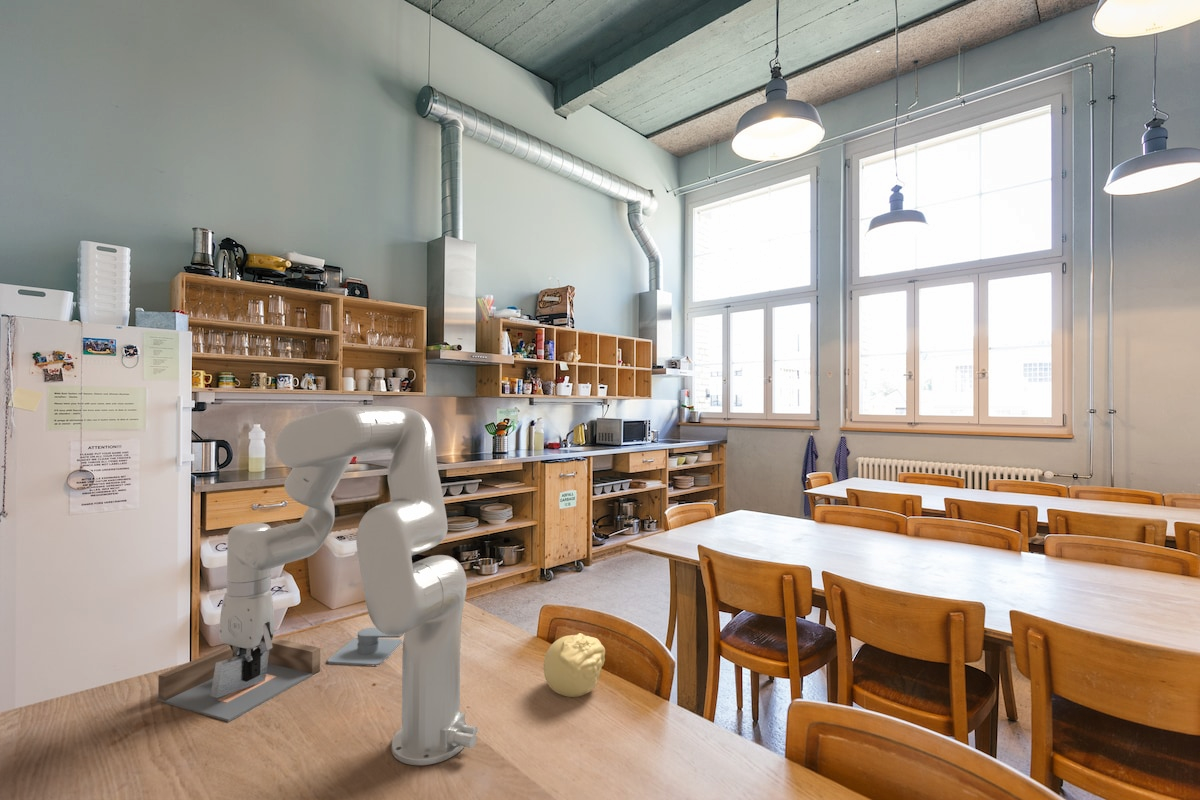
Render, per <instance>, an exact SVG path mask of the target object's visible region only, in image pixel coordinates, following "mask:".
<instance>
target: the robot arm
mask: <svg viewBox="0 0 1200 800" xmlns="http://www.w3.org/2000/svg"><path fill="white" fill-rule="evenodd" d="M436 446H437V445H436V438H435V432H434V430H433V428H432V425H431V423H430V421H428V419H427V418H426V417H425V416H424V415H423V414H421V413H420V412H419V411H417V410H415V409H411V408H409V407H403V406H397V405H396V406H393V405H390V406H389V405H388V406H387V405H375V406H374V405H372V406H370V405H369V406H366V405H365V406H361V405H360V406H359V405H357V406H340V407H335V408H330V409H328V410H323V411H320V412H317V413H314V414H310V415H307V416H304V417H301V418H296V419H294V420H291V421H290V422H288V423H287V424H286V425H285V426H283V428H282V429H281V430H280V431H279V432H278V435H277V437H276V440H275V446H274V447H275V454H276V457H277V459H278V460H279V462H280V463H281V464H282V465H283V466H286V467H287V468H291V470H290V472H289V474H288V476H287V477H286V479H285V481H284V490H285V492H286V494H287V495H288V496H289V497H290V499H292V500H293V501H295V502H296V503H299V504H300V505H303V506H307V509H306V511H305V512H304V514H303V516H302V517H301V518H300V520H299V522H293V523H288V524H284V525H279V526H276V527H271V526H270V525H269V524H267V523H263V522H250V523H243V524H238V525H235V526H233V527H232V528H231V529H230V530H229V531H228V532H227V546H226V547H227V552H226V553H227V555H226V556H227V557H226V559H227V560H226V561H227V562H226V592H225V593H224V597H223V599H222V604H221V610H220V617H219V618H220V619H219V628H218V629H219V631H218V634H219V637H218V638H219V641H220V642H221V643H223V644H226V645H227V646H230V647H231V649H232V651H233V658H234V657H237V656H241V655H244V654H246V660H247V661H245V662H244V681H245V682H247V681H249V680H251V679H253V678H255V677H257V676H259V675H260V667H261V656H263V653H264V652H267V651H269V650H271V649H272V648H273V647H272V643H271V640H272V639H273V638H274V635H275V612H274V611H275V609H274V601H273V595H272V592H271V590H272V587H271V585H272V569H273V568H278V567H280V566H284V565H286V564H289V563H292V562H296V561H300V560H302V559H303V560H304V559H306V558H310V556H313V555H314V554H315V553H317V552H318V550H320V549H321V547H322V545H324V543H325V542H326V539H327V538H328V536H329V534H330V533H331V531H332V529H333V527H334V524H335V519H336V518H335V517H336V516H335V515H336V513H335V510H336V509H335V503H334V500H333V498H332V496H333V494H334V492H335V490H336V488H337V487H338V484H339V482H340V480H341V479H342V477H343V475H344V474H345V472H346V470H347V469H348V467H349V466H350V464H351V462H352V460H353V458H354V457H361V456H371V455H377V454H385V453H390V454H393V455H392V457H391V459H390V462H389V465H388V470H387V483H388V488H389V497H390V501H389V502H384V503H380V504H377V505H376V506H374V507H372V508H371V509H369V510H367V512H365V514H364V515H363V516H362V518H361V520H360V521H359V524H358V527H357V532H356V538H355V539H356V540H355V541H356V551H357V556H358V557H357V559H358V564H359V570H360V576H361V581H362V586H363V594H364V599H365V605H366V609H367V613H368V617H370V620H371V622H372V624H373V626H374V628H377V629H378V630H379V631H381V632H382V633H384V634H386V635H392V636H395V635H400V634H403V633H404V634H403V640H402V655H401V656H402V660H401V661H402V662H401V663H402V664H401V665H402V667H401V669H402V671H401V672H402V673H401V678H402V680H401V728H400V729H398V730H397V732H396V733H395V734H394V735H393V738H392V741H391V753H392V755H393V757H394V758H395V759H396V760H398V761H399V762H401V763H404V764H407V765H411V766H429V765H435V764H437V763H440V762H441V763H442V762H444V761H446V760H449V759H450V758H452V757H454V756H455V755H457V754H458V753H460V752H461V750H462V749H463V748H469V749H473V748H474V746H475V745H476V742H477V734H478V731H479V730H478V729H479V728H478V727H477V726H476V725H475V726H474V725H471V724H470V725H469V724H467V723H466V713H465V712H462V711H460V710H461V709H460V708H461V707H460V705H461V701H460V700H461V698H460V697H461V642H462V641H461V638H462V637H461V635H462V634H461V633H462V619H463V612H464V607H465V601H466V596H467V581H468V580H467V574H466V572H465V569H464V567H463V566H462V564H461V563H460V562H459V561H458V560H457V559H455V558H454V557H452V556H450V555H447V554H446V555H444V554H437V555H431V556H428V557H425V558H423V559H420V560H418V561H415V562H413V560H412V558H413V556H415V555H418V554H421V553H424V552H426V551H428V550H430V549H433V548H435V547H437V546H438V545H440V544H441V543H442V542H443V541H444V540H445V538H446V537H447V533H448V531H449V529H448V519H447V511H446V506H445V499H444V495H443V488H442V484H441V482H442V481H441V478H440V474H439V469H438V468H439V467H438V462H437V461H438V460H437V449H436V448H437V447H436ZM255 647H257V648H256V649H255V650H254V651H253V648H255Z"/></svg>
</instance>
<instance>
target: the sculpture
mask: <svg viewBox="0 0 1200 800" xmlns="http://www.w3.org/2000/svg"><path fill="white" fill-rule="evenodd" d="M605 655H606V649H605V647H604V645H603V644H602V642H601V641H600V640H599V639H598V638H596V637H593V636H589V635H585V634H583V633H580V632H579V633H577V634H571V635H564V636H561V637H560V638H558V639H556V640H555V641H554V642H553V643H552V644H550V646H549V648H548V649H547V652H546V653H545V656H544V660H543V674H544V678H545V681H546V683H547V685H548V687H549V688H550V689H551V690H552V691H553V692H555V693H556V694H559V695H560V696H561V695H562V696H564V697H568V698H578V697H582V696H584V695H587V694H588V693H591V692H592V691H593V690H594V689H595V688H596V687H597V684H598V679H599V677H600V674H601V672H602V671H601V670H602V667H603V666H605V665H604V664H605V661H606V659H605Z"/></svg>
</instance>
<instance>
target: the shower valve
mask: <svg viewBox="0 0 1200 800" xmlns="http://www.w3.org/2000/svg"><path fill="white" fill-rule="evenodd" d="M402 636H404V633H403V634H400V635H395V636H392V635H386V634H384V633H382V632H381V631H379V630H378V629H377V628H376V627H366V628H363V629H360V630H359V631H358V632H357V637H355V638H353V639H351V640H350V641H348V642H347V643H346V644H345V645H344V646H343V647H341V648H339V650H337V651H336V652H335V653H334V654H332V655H331V656H330V657H329V658H328V659H327V664H328V665H339V664H342V665H343V666H359V665H374V666H373V667H377V666H376V665H379V666H380V664H381V663H382V662H383V661H384V660H385V659H386V660H387V659H388V658H389V657H390V656H391V655H392V654H393V653H394V652H395V651H396V650H397V649H398V648H399V647H400V646H401V645H402V644H403V640H402V639H398V638H400V637H402ZM393 638H394V639H393ZM396 638H397V639H396ZM401 643H402V644H401ZM400 644H401V645H400ZM399 645H400V646H399ZM398 646H399V647H398ZM397 647H398V648H397ZM396 648H397V649H396ZM395 649H396V650H395ZM394 650H395V651H394ZM393 651H394V652H393ZM392 652H393V653H392ZM391 653H392V654H391ZM388 656H389V657H388ZM386 660H385V661H386ZM385 661H384V662H385ZM384 662H383V663H384ZM383 663H382V664H383ZM382 664H381V665H382ZM342 665H341V666H342Z"/></svg>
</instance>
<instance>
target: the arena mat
mask: <svg viewBox="0 0 1200 800" xmlns="http://www.w3.org/2000/svg"><path fill="white" fill-rule="evenodd" d="M316 672H317V671H316ZM316 672H314V673H308V672H304V671H299V670H295V669H291V668H287V667H282V666H278V665H274V664H270V663H268V664H267V671H266V677H265V681H263V682H261V683H258V684H255V685H252V686H249V687H247V688H244V689H241V690H238V691H235V692H232V693H230V694H227V695H224V696H221V697H218V698H216V697H212V696H211V690H212V683H213V679H211V680H209V681H206V682H204V683H202V684H200V685H198V686H196V687H194V688H191V689H189V690H187V691H185V692H183V693H181V694H179V695H177V696H174V697H172V698H170V699H168V700H166V701H164V700H160V699H158V697H156V701H157V702H161V703H163V704H167V705H172V706H174V707H176V708H177V707H178V708H181V709H184V710H186V711H187V710H188V711H191V712H195V713H197V714H201V715H204V716H208V717H212V718H214V719H215V718H216V719H218V720H220V721H221V720H222V721H225V722H228V723H229V722H231V721H233V720H235V719H236V718H238V717H241V716H242V715H244V714H246V713H247V712H250V711H251V710H253V709H255V708H257V707H258V706H260V705H262V704H264V703H266V702H267V701H269V700H271V699H273V698H274V697H276V696H278V695H280V694H282V693H283V692H286V691H287V690H289V689H291V688H293V687H294V686H296V685H298V684H299V683H301V682H304V681H305V680H306V679H308V678H310V677H312V676H314V675H315V673H316ZM317 673H318V672H317ZM317 673H316V674H317Z"/></svg>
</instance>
